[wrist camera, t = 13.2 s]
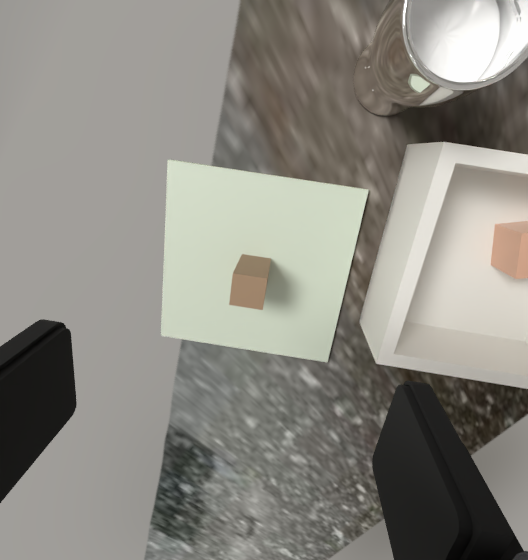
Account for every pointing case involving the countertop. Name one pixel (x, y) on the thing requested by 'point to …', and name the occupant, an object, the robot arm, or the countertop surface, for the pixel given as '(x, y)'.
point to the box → (450, 267)
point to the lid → (256, 259)
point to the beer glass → (439, 52)
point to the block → (511, 249)
